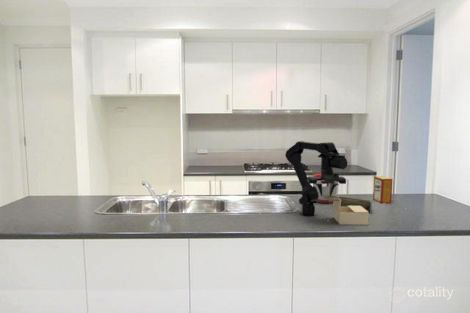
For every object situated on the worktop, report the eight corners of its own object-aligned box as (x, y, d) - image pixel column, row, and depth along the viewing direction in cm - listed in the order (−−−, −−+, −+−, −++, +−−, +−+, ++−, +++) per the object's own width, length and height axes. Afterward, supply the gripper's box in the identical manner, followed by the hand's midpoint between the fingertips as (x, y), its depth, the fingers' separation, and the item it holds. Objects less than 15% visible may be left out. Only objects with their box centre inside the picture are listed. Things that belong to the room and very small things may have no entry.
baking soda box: (373, 199, 201) (374, 175, 199) (382, 199, 202) (383, 175, 200) (381, 203, 192) (382, 178, 190) (391, 203, 192) (392, 178, 191)
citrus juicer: (309, 203, 192) (310, 172, 190) (313, 197, 208) (314, 168, 206) (335, 206, 186) (336, 174, 184) (338, 199, 202) (339, 169, 200)
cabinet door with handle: (340, 212, 154) (328, 212, 154) (334, 206, 164) (322, 206, 165) (341, 199, 153) (329, 198, 153) (335, 194, 163) (323, 193, 164)
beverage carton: (370, 214, 171) (371, 203, 170) (335, 209, 180) (335, 198, 180) (372, 210, 178) (372, 199, 177) (338, 206, 187) (338, 195, 186)
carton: (339, 224, 154) (340, 211, 153) (333, 217, 165) (334, 205, 164) (367, 224, 154) (368, 211, 153) (359, 217, 165) (360, 205, 164)
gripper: (311, 169, 150) (310, 200, 152) (350, 169, 149) (348, 200, 151) (307, 165, 161) (306, 194, 163) (343, 165, 160) (342, 194, 162)
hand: (325, 196), depth 159 cm, fingers open, 4 cm apart
